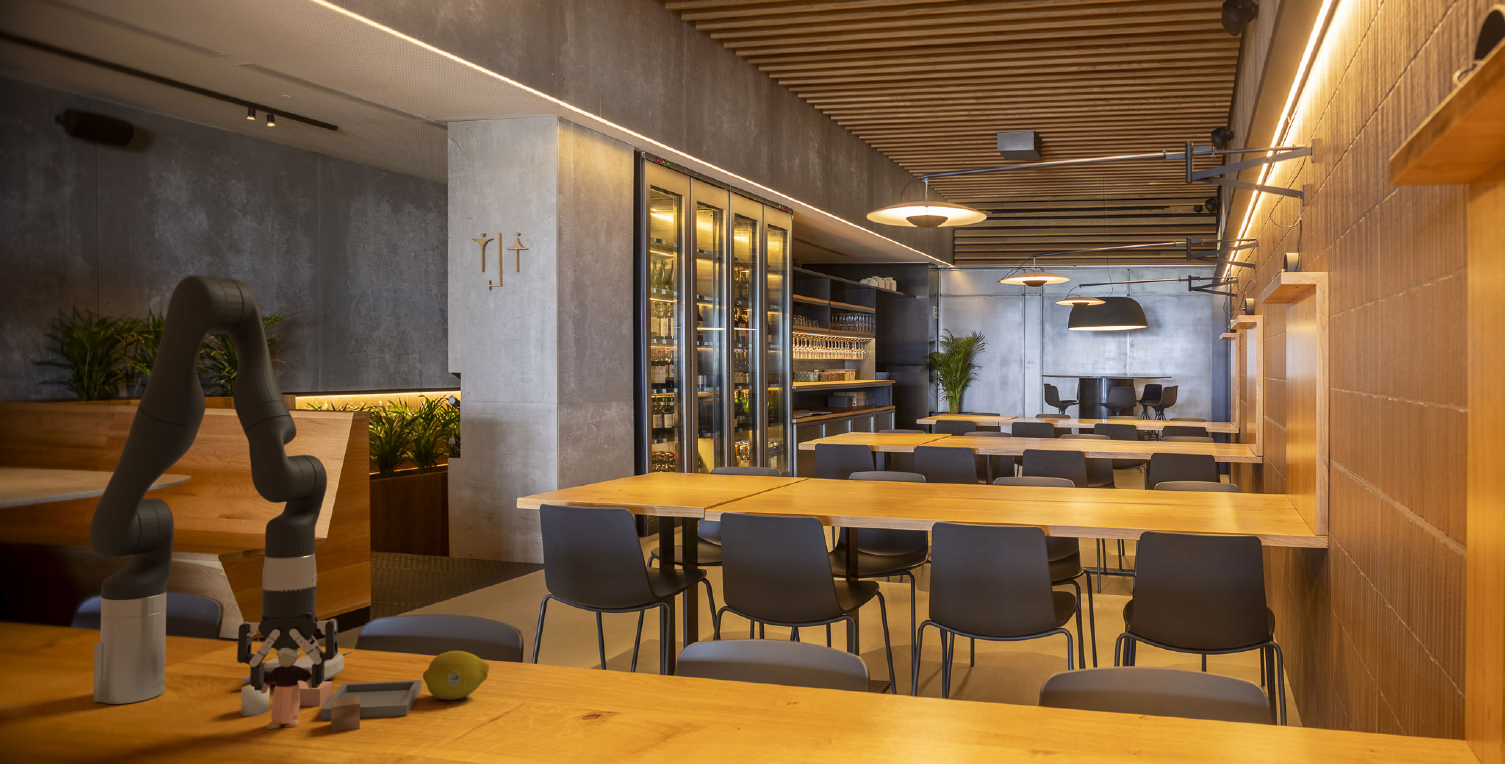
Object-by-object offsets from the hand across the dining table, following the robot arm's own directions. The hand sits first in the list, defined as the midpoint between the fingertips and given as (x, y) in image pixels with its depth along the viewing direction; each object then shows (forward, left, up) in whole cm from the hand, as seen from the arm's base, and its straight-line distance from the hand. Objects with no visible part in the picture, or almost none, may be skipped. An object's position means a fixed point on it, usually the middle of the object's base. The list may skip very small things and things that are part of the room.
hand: (287, 687), depth 143 cm
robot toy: (-5, +22, -6) cm, 24 cm away
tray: (+11, +8, -6) cm, 15 cm away
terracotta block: (0, +11, -6) cm, 13 cm away
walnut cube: (+9, -2, -6) cm, 11 cm away
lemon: (+24, +9, -6) cm, 26 cm away
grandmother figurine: (0, 0, -6) cm, 6 cm away
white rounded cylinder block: (-7, +7, -6) cm, 12 cm away
